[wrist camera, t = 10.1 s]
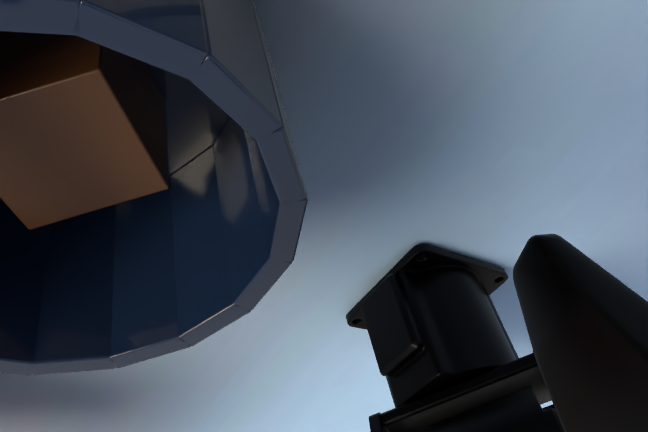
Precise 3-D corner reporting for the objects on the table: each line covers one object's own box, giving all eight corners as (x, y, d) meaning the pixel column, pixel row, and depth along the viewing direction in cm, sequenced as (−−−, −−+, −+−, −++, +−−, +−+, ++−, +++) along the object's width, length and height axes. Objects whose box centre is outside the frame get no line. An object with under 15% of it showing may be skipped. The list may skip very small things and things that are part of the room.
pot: (331, -19, 19) (400, 135, 14) (175, 226, 25) (184, 392, 20) (-131, -274, 13) (-306, -164, 8) (-183, 136, 19) (-297, 341, 14)
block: (106, -16, 17) (100, 68, 14) (165, 101, 20) (170, 189, 17) (-37, 27, 17) (-72, 120, 14) (44, 137, 20) (28, 231, 17)
